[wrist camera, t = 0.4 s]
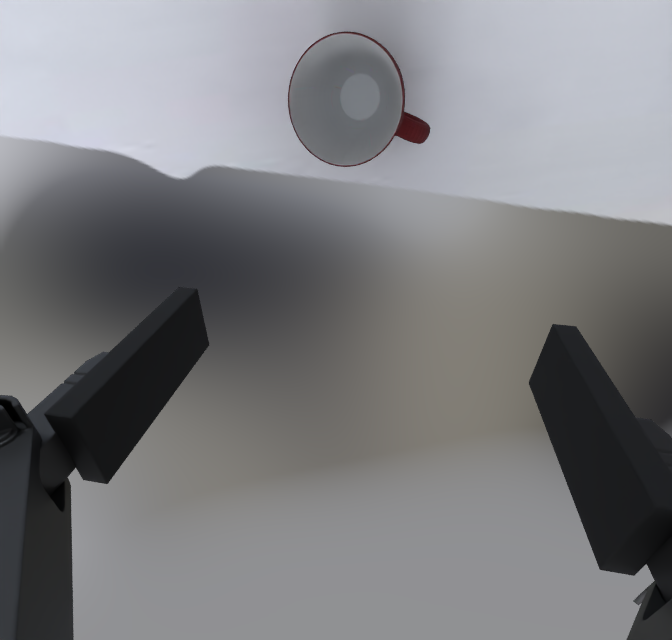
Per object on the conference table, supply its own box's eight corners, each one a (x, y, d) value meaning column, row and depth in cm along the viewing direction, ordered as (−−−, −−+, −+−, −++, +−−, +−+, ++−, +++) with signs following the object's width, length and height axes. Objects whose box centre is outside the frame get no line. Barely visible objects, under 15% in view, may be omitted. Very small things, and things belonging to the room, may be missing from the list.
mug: (447, 65, 32) (461, 62, 23) (413, 163, 36) (415, 190, 28) (327, 29, 32) (298, 14, 23) (308, 132, 36) (279, 149, 28)
